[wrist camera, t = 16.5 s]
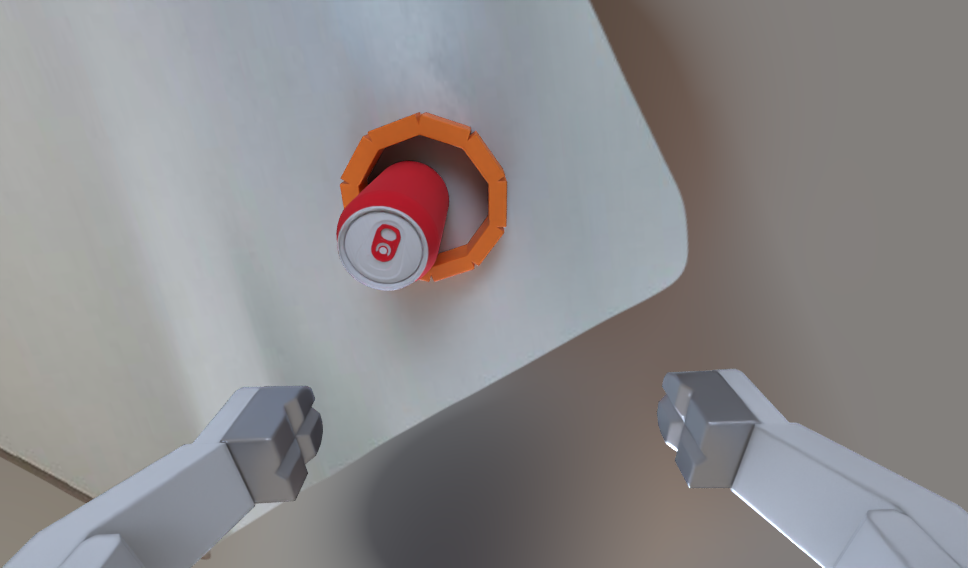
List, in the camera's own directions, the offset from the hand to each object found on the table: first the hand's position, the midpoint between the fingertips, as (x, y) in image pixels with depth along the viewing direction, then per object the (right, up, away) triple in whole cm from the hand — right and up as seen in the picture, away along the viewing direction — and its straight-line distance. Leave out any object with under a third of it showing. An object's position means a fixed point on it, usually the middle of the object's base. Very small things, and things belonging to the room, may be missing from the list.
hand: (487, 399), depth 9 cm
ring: (-5, +10, +24) cm, 26 cm away
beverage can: (-6, +10, +24) cm, 27 cm away
